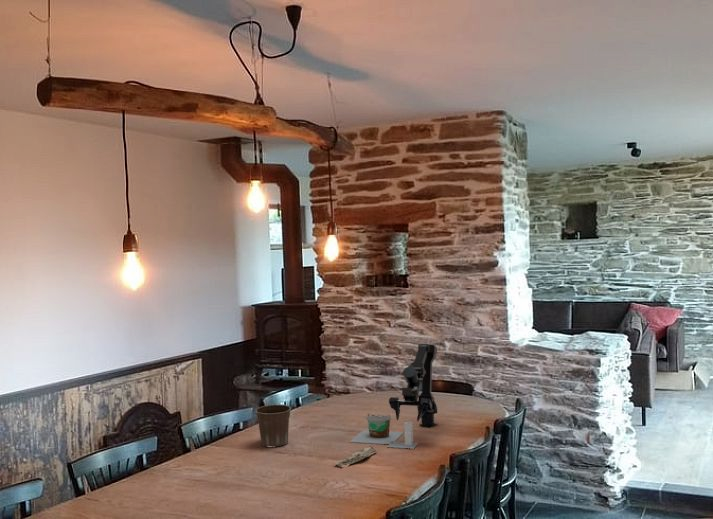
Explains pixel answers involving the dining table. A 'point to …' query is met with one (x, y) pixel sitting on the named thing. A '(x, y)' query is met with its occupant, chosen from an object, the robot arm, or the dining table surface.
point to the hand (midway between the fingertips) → (407, 420)
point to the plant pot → (273, 424)
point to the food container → (378, 425)
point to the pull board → (389, 438)
